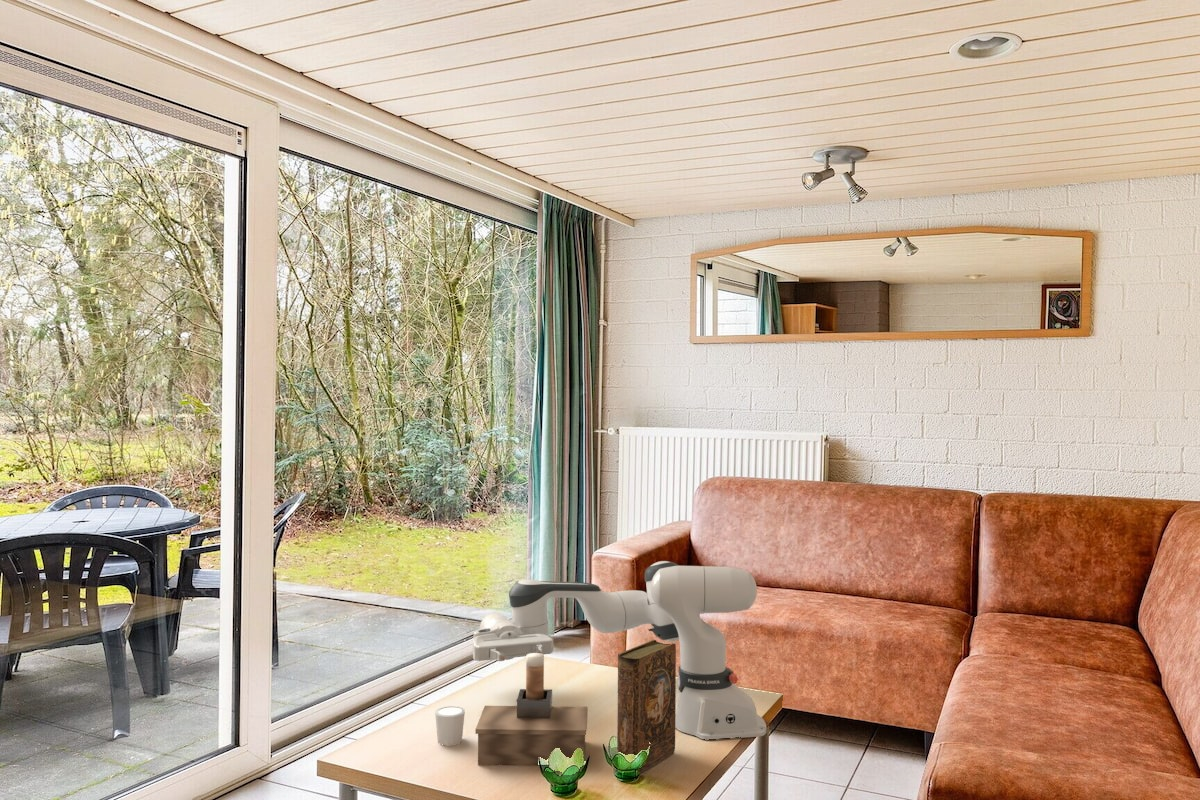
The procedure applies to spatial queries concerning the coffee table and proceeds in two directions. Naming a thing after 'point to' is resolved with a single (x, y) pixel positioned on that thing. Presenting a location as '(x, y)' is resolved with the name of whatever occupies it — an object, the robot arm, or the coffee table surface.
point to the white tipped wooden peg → (535, 676)
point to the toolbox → (529, 731)
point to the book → (647, 701)
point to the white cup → (449, 725)
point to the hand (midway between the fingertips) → (520, 655)
